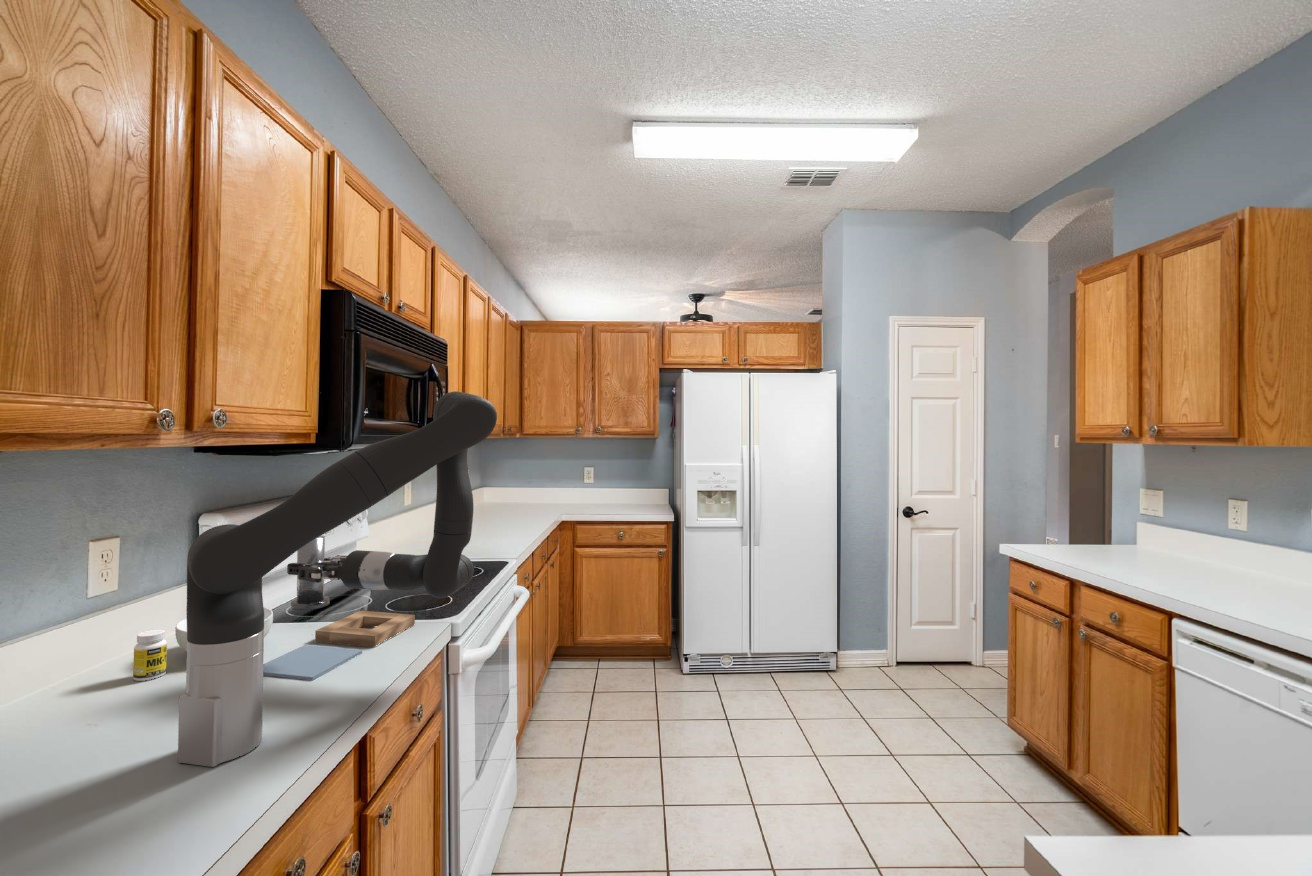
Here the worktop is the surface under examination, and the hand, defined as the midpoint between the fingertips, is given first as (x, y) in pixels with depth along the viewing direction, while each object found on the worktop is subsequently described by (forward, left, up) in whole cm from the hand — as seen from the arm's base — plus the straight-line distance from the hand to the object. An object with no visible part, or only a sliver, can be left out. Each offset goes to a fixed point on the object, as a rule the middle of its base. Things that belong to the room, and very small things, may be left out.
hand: (299, 565), depth 117 cm
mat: (0, -3, -20) cm, 20 cm away
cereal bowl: (+2, +19, -20) cm, 28 cm away
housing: (+18, -3, -20) cm, 27 cm away
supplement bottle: (-12, +21, -20) cm, 32 cm away
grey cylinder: (0, -3, -8) cm, 9 cm away
